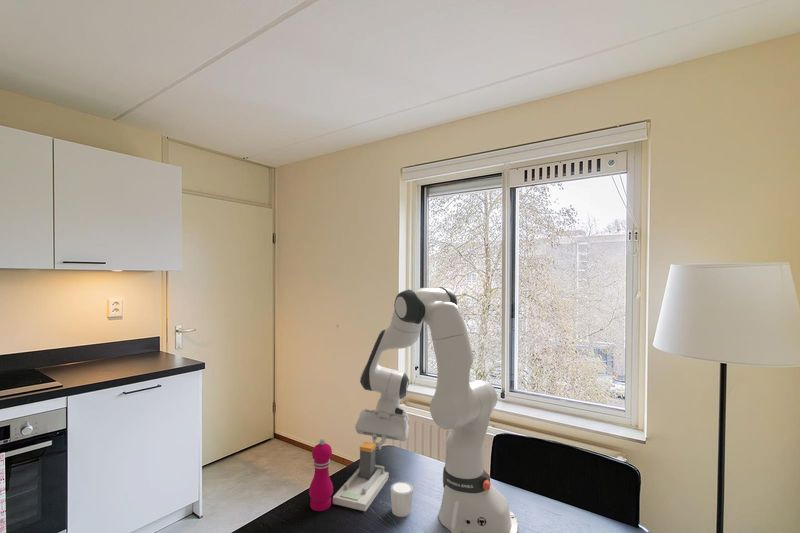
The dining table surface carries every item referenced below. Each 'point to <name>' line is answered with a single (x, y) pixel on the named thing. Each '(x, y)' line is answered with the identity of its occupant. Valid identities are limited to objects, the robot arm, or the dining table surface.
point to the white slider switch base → (361, 489)
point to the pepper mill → (321, 478)
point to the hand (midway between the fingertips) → (376, 448)
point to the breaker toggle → (367, 460)
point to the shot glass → (401, 498)
